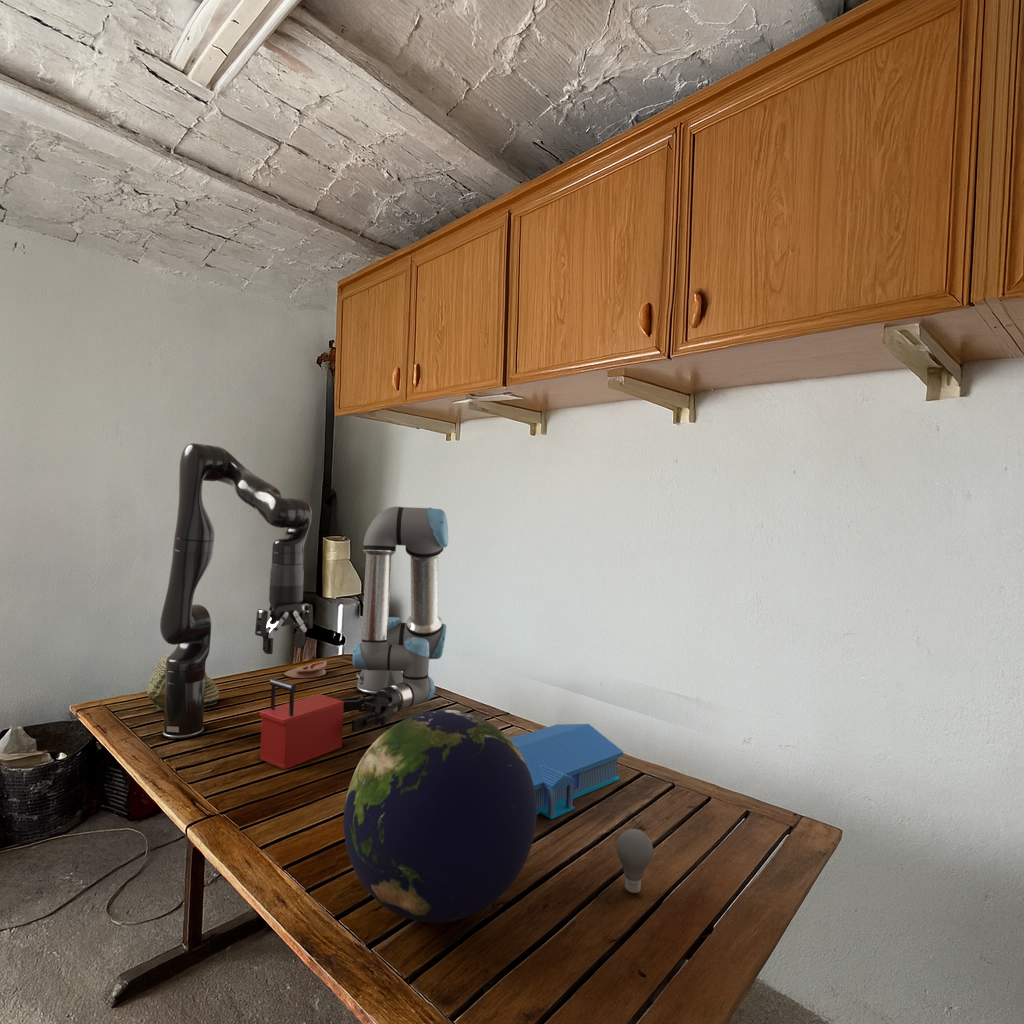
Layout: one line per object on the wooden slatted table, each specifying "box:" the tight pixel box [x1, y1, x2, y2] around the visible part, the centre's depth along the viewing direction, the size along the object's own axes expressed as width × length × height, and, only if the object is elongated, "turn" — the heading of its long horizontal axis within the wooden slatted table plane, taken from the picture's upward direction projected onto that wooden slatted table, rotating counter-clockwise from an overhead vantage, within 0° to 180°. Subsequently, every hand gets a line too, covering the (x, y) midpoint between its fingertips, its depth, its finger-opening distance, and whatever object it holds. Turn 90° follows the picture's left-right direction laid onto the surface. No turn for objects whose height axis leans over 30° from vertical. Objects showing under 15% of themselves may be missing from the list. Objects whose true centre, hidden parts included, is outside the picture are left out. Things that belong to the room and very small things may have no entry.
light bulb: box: [615, 828, 654, 894], centre depth 106 cm, size 6×6×10 cm
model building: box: [509, 723, 624, 820], centre depth 142 cm, size 39×24×10 cm, turn 132°
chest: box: [259, 706, 344, 770], centre depth 156 cm, size 17×9×11 cm, turn 147°
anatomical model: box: [283, 660, 327, 679], centre depth 222 cm, size 13×4×12 cm
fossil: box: [147, 654, 221, 712], centre depth 185 cm, size 9×18×15 cm, turn 132°
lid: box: [259, 678, 344, 724], centre depth 155 cm, size 18×9×8 cm, turn 146°
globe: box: [343, 709, 538, 924], centre depth 100 cm, size 30×30×30 cm
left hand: (284, 650), depth 150 cm, fingers open, 8 cm apart
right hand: (334, 719), depth 162 cm, fingers open, 13 cm apart
